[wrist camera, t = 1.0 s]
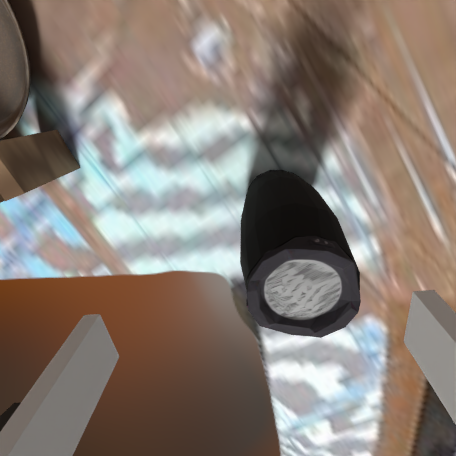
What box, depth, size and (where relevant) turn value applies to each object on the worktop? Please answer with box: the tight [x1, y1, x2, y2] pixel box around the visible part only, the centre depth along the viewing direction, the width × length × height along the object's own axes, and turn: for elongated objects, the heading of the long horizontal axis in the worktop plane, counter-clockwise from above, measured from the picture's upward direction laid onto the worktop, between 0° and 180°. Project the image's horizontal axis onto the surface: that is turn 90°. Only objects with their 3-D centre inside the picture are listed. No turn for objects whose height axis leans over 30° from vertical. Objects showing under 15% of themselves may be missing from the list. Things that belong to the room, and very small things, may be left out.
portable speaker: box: [240, 170, 361, 338], centre depth 27 cm, size 9×9×20 cm
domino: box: [0, 130, 80, 201], centre depth 30 cm, size 5×2×10 cm, turn 21°
